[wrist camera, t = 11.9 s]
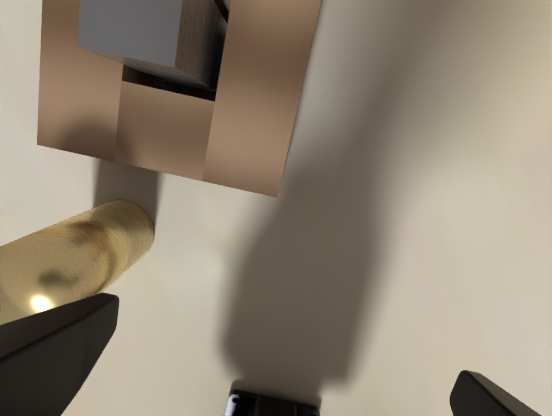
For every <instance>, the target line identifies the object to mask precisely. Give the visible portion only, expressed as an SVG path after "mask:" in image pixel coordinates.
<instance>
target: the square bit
mask: <svg viewBox="0 0 552 416" xmlns="http://www.w3.org/2000/svg"><path fill="white" fill-rule="evenodd" d="M226 31H227V23H226V21H225V19H224V18H223V16H222V14H221V12H220V11H219V9H218V7H217V6H216V4H215V2H214V0H80V13H79V32H78V47H79V48H82V49H85V50H87V51H90V52H92V53H95V54H97V55H100V56H103V57H105V58H108V59H110V60H113V61H116V62H118V63H121V64H123V65H126V66H129V67H131V68H134V69H136V70H139V71H141V72H144V73H147V74H149V75H152V76H154V77H157V78H160V79H162V80H165V81H168V82H173V83H178V84H182V85H187V86H192V87H197V88H201V89H206V90H211V91H216V92H217V86H218V80H219V73H220V67H221V61H222V55H223V49H224V43H225V37H226Z"/></svg>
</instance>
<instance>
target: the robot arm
mask: <svg viewBox="0 0 552 416" xmlns="http://www.w3.org/2000/svg"><path fill="white" fill-rule="evenodd" d="M118 309H119V297H118V296H116V295H112V294H108V293H99V294H96V295H93V296H90V297H87V298H83V299H80V300H77V301H74V302H71V303H68V304H64V305H61V306H58V307H55V308H52V309H49V310H45V311H42V312H39V313H36V314H33V315H30V316H26V317H23V318H20V319H17V320H14V321H11V322H7V323H4V324H1V325H0V416H61V414H62V413H63V412H64V410H65V409H66V408H67V406H68V405H69V404H70V402H71V401H72V400H73V398H74V397H75V395H76V394H77V393H78V391H79V390H80V388H81V387H82V385H83V384H84V382H85V380H86V379H87V377H88V375H89V374H90V372H91V370H92V369H93V367H94V365H95V364H96V362H97V360H98V359H99V357H100V355H101V354H102V352H103V350H104V349H105V347H106V345H107V344H108V342H109V340H110V339H111V337H112V335H113V334H114V331H115V329H116V326H117V318H118ZM234 397H236V398H238V399H235V398H234ZM450 406H451V409H452V412H453V416H541V415H540V414H538V413H537V412H535V411H534V410H532V409H531V408H530V407H528V406H527V405H525V404H524V403H522V402H521V401H519V400H518V399H517V398H515V397H514V396H512V395H511V394H509V393H508V392H506V391H505V390H503V389H502V388H501V387H499V386H498V385H496V384H495V383H493V382H492V381H490V380H489V379H488V378H486V377H485V376H483V375H482V374H480V373H477V372H472V371H468V370H463V371H461V372H460V373H459V375H458V378H457V380H456V382H455V385H454V387H453V390H452V392H451V395H450ZM311 414H314V415H311ZM225 416H320V411H319V409H318V408H317V407H315V406H311V405H306V404H301V403H297V402H292V401H287V400H282V399H277V398H273V397H268V396H263V395H258V394H254V393H249V392H244V391H239V390H233V391H231V392H230V394H229V398H228V402H227V407H226V411H225Z"/></svg>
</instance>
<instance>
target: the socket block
mask: <svg viewBox="0 0 552 416" xmlns="http://www.w3.org/2000/svg"><path fill="white" fill-rule="evenodd" d="M214 2H215V4H216V6H217V7H218V9H219V11H220V12H221V14H222V16H223V18H225V19H228V24H227V31H226V37H225V43H224V49H223V55H222V61H221V67H220V73H219V80H218V86H217V92H216V98H215V102H214V101H210V100H205V99H201V98H196V97H192V96H187V95H183V94H178V93H174V92H170V91H165V90H161V89H156V88H152V86H153V77H154V76H152V75H149V74H147V73H144V72H141V71H139V70H136V69H134V68H131V67H129V66H126V65H123V64H121V63H118V62H116V61H113V60H110V59H108V58H105V57H103V56H100V55H97V54H95V53H92V52H90V51H87V50H85V49H82V48H79V47H78V32H79V13H80V0H43V1H42V28H41V54H40V81H39V107H38V134H37V145H41V146H46V147H50V148H55V149H59V150H64V151H68V152H73V153H77V154H82V155H87V156H91V157H96V158H100V159H105V160H109V161H114V162H118V163H123V164H127V165H132V166H136V167H141V168H146V169H150V170H155V171H159V172H164V173H168V174H173V175H177V176H182V177H186V178H191V179H196V180H200V181H205V182H209V183H214V184H218V185H223V186H227V187H232V188H236V189H241V190H246V191H250V192H255V193H259V194H264V195H268V196H273V197H278V193H279V188H280V184H281V179H282V175H283V170H284V166H285V161H286V157H287V152H288V148H289V143H290V139H291V135H292V130H293V126H294V121H295V117H296V112H297V108H298V103H299V99H300V94H301V90H302V85H303V81H304V76H305V72H306V67H307V63H308V58H309V54H310V49H311V45H312V40H313V36H314V31H315V27H316V22H317V18H318V13H319V9H320V4H321V0H214Z"/></svg>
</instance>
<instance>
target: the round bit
mask: <svg viewBox="0 0 552 416" xmlns="http://www.w3.org/2000/svg"><path fill="white" fill-rule="evenodd" d="M153 240H154V228H153V224H152V222H151V220H150V218H149V216H148V215H147V214H146V212H145V211H144V210H143V209H142V208H140V207H139V206H137V205H136V204H134V203H131V202H128V201H124V200H114V201H110V202H107V203H105V204H102V205H100V206H97V207H95V208H93V209H90V210H88V211H85V212H83V213H80V214H78V215H76V216H73V217H71V218H68V219H66V220H64V221H61V222H59V223H56V224H54V225H51V226H49V227H47V228H44V229H42V230H39V231H37V232H34V233H32V234H30V235H27V236H25V237H22V238H20V239H18V240H15V241H13V242H10V243H8V244H5V245H3V246H1V247H0V325H1V324H4V323H7V322H11V321H14V320H17V319H20V318H23V317H26V316H30V315H33V314H36V313H39V312H42V311H45V310H49V309H52V308H55V307H58V306H61V305H64V304H68V303H71V302H74V301H77V300H80V299H83V298H87V297H90V296H93V295H96V294H99V293H102V292H103V291H104V290H105V289H106V288H108V287H109V286H110V285H111V284H112V283H113V282H114V281H115V280H117V279H118V278H119V277H120V276H121V275H122V274H123V273H124V272H126V271H127V270H128V269H129V268H130V267H131V266H132V265H134V264H135V263H136V262H137V261H138V260H139V259H140V258H141V257H143V256H144V255H145V254H146V253H147V252H148V251H149V249H150V248H151V246H152V244H153Z"/></svg>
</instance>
